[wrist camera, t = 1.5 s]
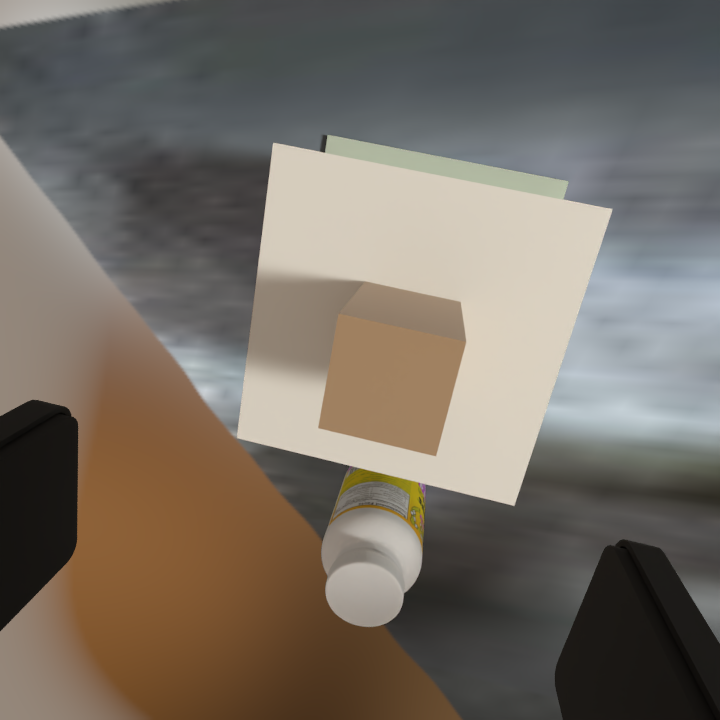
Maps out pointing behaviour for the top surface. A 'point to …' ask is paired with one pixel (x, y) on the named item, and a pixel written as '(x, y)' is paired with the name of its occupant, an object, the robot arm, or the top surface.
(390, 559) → the supplement bottle
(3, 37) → the top surface
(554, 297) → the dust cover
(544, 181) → the mat
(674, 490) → the top surface
